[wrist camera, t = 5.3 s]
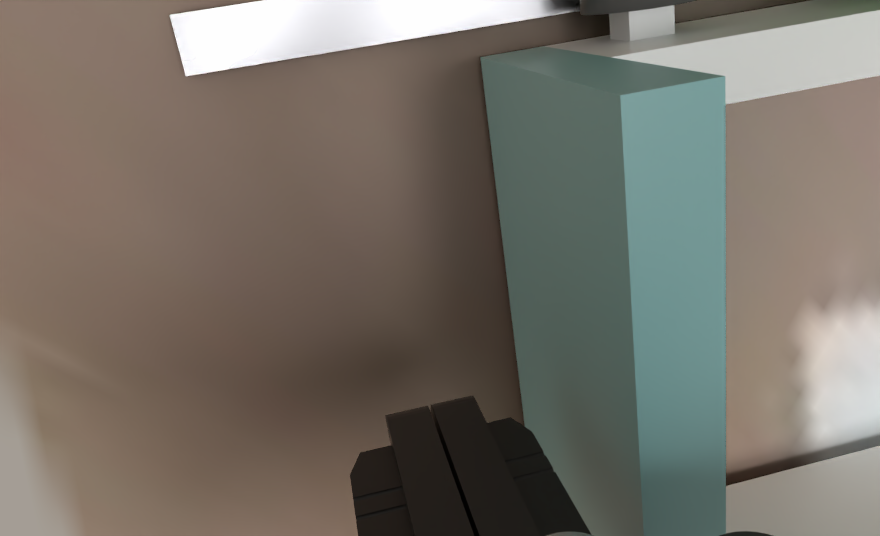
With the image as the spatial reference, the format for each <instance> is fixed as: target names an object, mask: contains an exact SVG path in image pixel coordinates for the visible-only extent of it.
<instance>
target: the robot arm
mask: <svg viewBox="0 0 880 536" xmlns="http://www.w3.org/2000/svg"><path fill="white" fill-rule="evenodd" d="M386 422H387V427H388V433H389V438H390V443H391V446H387V447H383V448H378V449H374V450H370V451H366V452H361V453H360V454H359V457H358V459H357V461H356V463H355V465H354V468H353V470H352V472H351V474H350V478H351V485H352V493H353V499H354V507H355V515H356V520H357V521H356V522H357V529H358V536H594V535H592V534H591V533H590V531H589V529H588V528H587V526H586V524H585V522H584V521H583V519H582V517H581V515H580V514H579V512H578V510H577V509H576V507H575V505H574V503H573V502H572V500H571V498H570V496H569V495H568V493H567V491H566V489H565V488H564V486H563V484H562V483H561V481H560V479H559V477H558V476H557V474H556V472H554V470H553V467H552V465H551V463H550V462H549V460H548V458H547V457H546V455H544V451H543V450H542V448H541V446H540V444H539V443H538V441H537V439H536V437H535V436H534V434H533V432H532V431H530V430H529V429H527V428H526V427H524V426H523V425H521V424H520V423H518V422H517V421H515V420H513V419H512V418H506V419H502V420H497V421H493V422H489V423H486V421H485V418H484V416H483V414H482V412H481V410H480V408H479V406H478V404H477V402H476V400H475V398H474V396H468V397H464V398H459V399H455V400H450V401H446V402H442V403H437V404H433V405H431V413H430V410H429V407H428V406H425V407H420V408H416V409H412V410H407V411H403V412H398V413H394V414H390V415H386ZM720 536H773V535H769V534H765V533H760V532H751V531H738V532H731V533H726V534H723V535H720Z"/></svg>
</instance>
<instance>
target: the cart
mask: <svg viewBox="0 0 880 536" xmlns="http://www.w3.org/2000/svg"><path fill="white" fill-rule="evenodd" d="M692 1H696V0H580V13H581V15H600V14H609V22H610V35H606V36H600V37H595V38H589V39H583V40H577V41H571V42H565V43H560V44H554V45H548V46H542V47H536V48H530V49H525V50H519V51H513V52H507V53H501V54H495V55H490V56H484V57H480V59H481V67H482V75H483V84H484V92H485V100H486V108H487V117H488V125H489V133H490V142H491V150H492V158H493V167H494V175H495V183H496V191H497V200H498V208H499V216H500V225H501V233H502V241H503V250H504V258H505V266H506V274H507V283H508V291H509V299H510V308H511V316H512V324H513V333H514V341H515V349H516V358H517V366H518V374H519V382H520V391H521V399H522V407H523V416H524V424H525V427H526V428H527V429H529V430H530V431H532V432H533V434H534V436H535V437H536V439H537V441H538V443H539V444H540V446H541V448H542V450H543V451H544V455H546V457H547V458H548V460H549V462H550V463H551V465H552V467H553V470H554V472H556V474H557V476H558V477H559V479H560V481H561V483H562V484H563V486H564V488H565V489H566V491H567V493H568V495H569V496H570V498H571V500H572V502H573V503H574V505H575V507H576V509H577V510H578V512H579V514H580V515H581V517H582V519H583V521H584V522H585V524H586V526H587V528H588V529H589V531H590V533H591V534H592V535H594V536H720V535H723V534H726V533H731V532H738V531H751V532H760V533H765V534H769V535H773V536H880V446H876V447H872V448H869V449H865V450H861V451H857V452H853V453H850V454H846V455H842V456H838V457H834V458H831V459H827V460H823V461H819V462H815V463H812V464H808V465H804V466H800V467H796V468H793V469H789V470H785V471H781V472H777V473H774V474H770V475H766V476H762V477H758V478H755V479H751V480H747V481H743V482H739V483H736V484H732V485H728V486H726V162H725V105H726V104H731V103H737V102H742V101H747V100H753V99H758V98H763V97H769V96H774V95H779V94H784V93H790V92H795V91H800V90H806V89H811V88H816V87H821V86H827V85H832V84H837V83H843V82H848V81H853V80H858V79H864V78H869V77H874V76H880V0H810V1H804V2H799V3H793V4H787V5H781V6H775V7H769V8H764V9H758V10H752V11H746V12H740V13H735V14H729V15H723V16H717V17H711V18H705V19H700V20H694V21H688V22H682V23H676V24H675V15H674V5H677V4H682V3H687V2H692Z"/></svg>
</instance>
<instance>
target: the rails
mask: <svg viewBox="0 0 880 536" xmlns="http://www.w3.org/2000/svg"><path fill="white" fill-rule="evenodd" d="M576 11H580V0H263V1H256V2H250V3H243V4H237V5H230V6H224V7H217V8H211V9H204V10H198V11H191V12H185V13H178V14H172V15H170V18H171V22H172V26H173V30H174V34H175V37H176V41H177V45H178V49H179V52H180V56H181V60H182V64H183V67H184V71H185V75H186V76H190V75H196V74H203V73H209V72H215V71H221V70H227V69H233V68H239V67H245V66H251V65H257V64H263V63H269V62H275V61H281V60H287V59H293V58H299V57H305V56H311V55H317V54H323V53H329V52H335V51H341V50H347V49H353V48H359V47H365V46H371V45H377V44H383V43H389V42H395V41H401V40H407V39H413V38H419V37H425V36H431V35H437V34H444V33H450V32H456V31H462V30H468V29H474V28H480V27H486V26H492V25H498V24H504V23H510V22H516V21H522V20H528V19H534V18H540V17H546V16H552V15H558V14H564V13H570V12H576Z"/></svg>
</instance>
